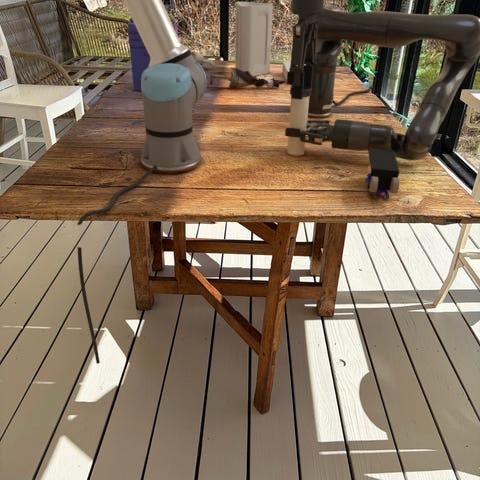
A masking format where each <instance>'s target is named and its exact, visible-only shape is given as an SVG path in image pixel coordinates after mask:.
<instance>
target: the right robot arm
mask: <svg viewBox="0 0 480 480" xmlns="http://www.w3.org/2000/svg"><path fill="white" fill-rule="evenodd" d="M315 20H318V22H319V24H318V30H317V52H316V62H317V65H312V66H313V77H312V90H311V95H310V96H309V107H308V117H309V118H310V117H311V118H318V119H319V118H320V119H321V118H328V117H330V116H332V109H333V108H332V107H333V105H334V106H340V105H341V104H343V103H344V102H345V101H347V100H348V99H349V98H350V97H351V96H353V95H358V94H359V95H360V94H366V93H369V92H371V90H374V87H373V86H372V85H370V86H369V87H368V89H365V90H358V91H352V92H350V93H348V94H347V95H346V96H345V97H343V99H341V101H339V102H337V101H335V99H334V97H335V94H334V90H335V82H336V81H335V80H336V73H337V70H336V69H337V62H338V56H339V55H340V52H341V48H342V43H343V40H345V41H350V42H354V43H359V44H364V45H370V46H375V47H382V48H388V49H389V48H390V49H398V48H402V47H405V46H408V45H411V44H412V43H415V42H417V41H420V40H421V41H422V40H432V41H440V42H444V51H445V53H446V54H445V55H446V56H445V60H444V63H443V67H442V69H441V72H440V73H439V75H438V77H437V78H436V79H435V80H434V81H433V82H432V83H431V84H430V85H429V86H428V87H427V89H426V91H425V92H424V94H423V96H422V99H421V101H420V103H419V104H418V107H417V109H416V112H415V114H414V116H413V118H412V119H411V121H410V122H409V125H408V126H407V129H406V131H405V134H403V133H401V132H400V133H399V132H396V131H395V128H394V127H393V126H392V125H389V124H381V123H371V122H366V121H361V120H352V119H350V120H349V119H340V118H336V119H335V120H334V122H333V123H334V124H330V121H329V120H317V119H315V120H313V119H312V120H311V119H309V120H308V119H307V129H297V128H289V127H286V128H285V129H284V131H285V132H284V135H285V137H287V138H288V137H297V138H299V139H300V141H301V142H305V144H311V145H317V146H322V145H323V143H325V142H331V148H332V149H337V150H346V151H353V152H354V151H355V152H368V149H378V150H388V151H394V153H395V157H396V158H398V159H401V160H405V161H412V162H413V161H420V160H423V159H425V158H426V157H427V156H428V155H429V154H430V151H431V149H432V147H433V144H434V142H435V139H436V137H437V135H438V132H439V129H440V127H441V124H442V123H443V122H444V120H445V118H446V116H447V114H448V111H449V109H450V107H451V105H452V103H453V100H454V98H455V96H456V93H457V91H458V89H459V88H460V86H461V84H462V82H463V81H464V80H465V77H466V75H468V72H469V71H470V69H472V66H473V65H474V64H475V62H476V61H477V59H478V58H479V57H480V17H479V16H475V15H473V14H465V13H464V14H462V13H461V14H454V13H453V14H421V13H405V12H398V11H387V10H386V11H385V10H379V11H378V10H373V11H371V10H369V11H359V12H358V11H357V12H344V11H343V10H342V9H341V8H340V7H339V6H337V5H333V4H332V5H324V9H323V13H322V14H320V15H315ZM305 135H306V136H305Z"/></svg>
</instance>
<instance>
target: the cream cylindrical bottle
mask: <svg viewBox="0 0 480 480" xmlns="http://www.w3.org/2000/svg"><path fill="white" fill-rule="evenodd" d="M291 97H292V95H290V105H289V106H290V107H289V122H288V128H297V129H307V121H308V118H309V116H308V107H309V96H307V97H303V99H302V100H301V99H292V98H291ZM305 136H307V135H305ZM305 151H306V142H301V141H300V139H299V138H297V137H288V136H287V149H286V153H287V154H289V155H290V156H295V157H296V156H303V155H304V154H305Z"/></svg>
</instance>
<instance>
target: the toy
mask: <svg viewBox="0 0 480 480" xmlns="http://www.w3.org/2000/svg"><path fill="white" fill-rule="evenodd" d="M194 52H195V53H196V59H195V61H196V62H197V63H199V64H200V65H201V66H202V65H204V64H209V65H210V66H211V67H213V68H214V67H217V66H216V63H215V62H214V61H213V60H211V59H209V58H206V59H205V57H204V56H203V55H201V54H198V52H197V51H194Z"/></svg>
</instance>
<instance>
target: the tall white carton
mask: <svg viewBox="0 0 480 480" xmlns="http://www.w3.org/2000/svg"><path fill="white" fill-rule="evenodd" d="M273 8H274V4H273V3H269V2H267V3H266V2H265V3H264V2H252V1H235V59H234V60H235V62H234V63H235V65H234V66H235V67H234V68H237V69H240V70H242V71H244V72H245V71H249V72H250V73H251V75H252V76H256V77H257V76H259V75H260V76H261V75H266V74H270V73H271V56H272V55H271V54H272V33H273V32H272V31H273V10H274V9H273Z"/></svg>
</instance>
